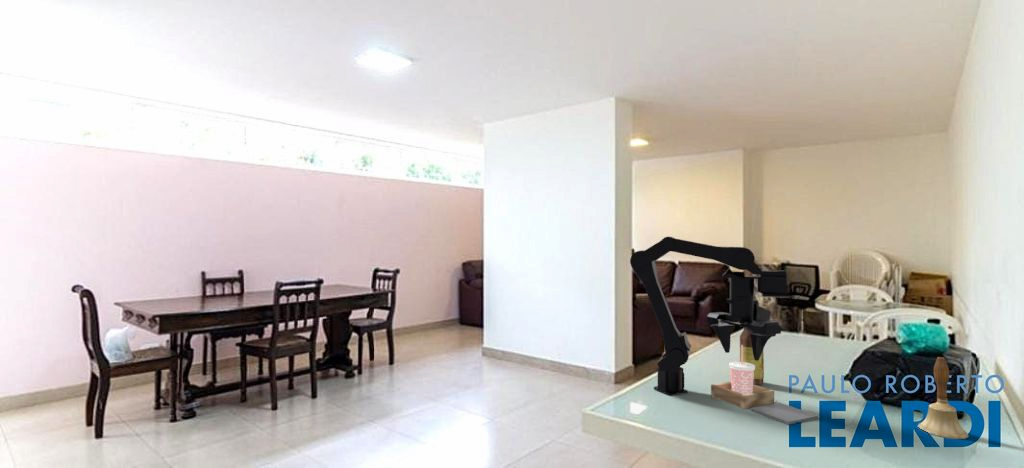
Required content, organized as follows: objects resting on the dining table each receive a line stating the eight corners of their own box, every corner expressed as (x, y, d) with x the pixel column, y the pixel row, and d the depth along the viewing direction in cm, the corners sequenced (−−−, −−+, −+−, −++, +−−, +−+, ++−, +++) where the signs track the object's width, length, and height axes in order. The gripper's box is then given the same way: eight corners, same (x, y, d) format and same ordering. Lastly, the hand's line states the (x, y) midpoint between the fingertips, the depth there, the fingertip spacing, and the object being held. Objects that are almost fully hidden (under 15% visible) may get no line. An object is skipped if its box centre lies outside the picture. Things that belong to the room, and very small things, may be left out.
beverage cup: (729, 401, 128) (729, 346, 128) (728, 394, 134) (728, 341, 134) (756, 404, 126) (756, 348, 126) (753, 397, 132) (753, 343, 132)
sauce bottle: (768, 386, 142) (768, 315, 142) (745, 385, 142) (745, 315, 142) (757, 379, 148) (757, 311, 148) (735, 379, 148) (735, 311, 149)
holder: (744, 408, 123) (744, 396, 123) (711, 396, 133) (711, 384, 133) (774, 402, 127) (774, 390, 127) (740, 391, 137) (740, 380, 137)
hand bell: (957, 442, 103) (956, 363, 103) (910, 428, 110) (909, 355, 111) (976, 435, 107) (975, 359, 107) (929, 422, 114) (928, 351, 114)
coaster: (788, 424, 112) (788, 421, 112) (750, 410, 121) (750, 408, 121) (818, 418, 116) (818, 415, 116) (779, 405, 126) (779, 402, 126)
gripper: (796, 298, 125) (796, 361, 125) (735, 291, 142) (735, 346, 142) (764, 300, 120) (764, 366, 120) (705, 292, 137) (705, 349, 137)
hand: (741, 356), depth 130 cm, fingers open, 9 cm apart
